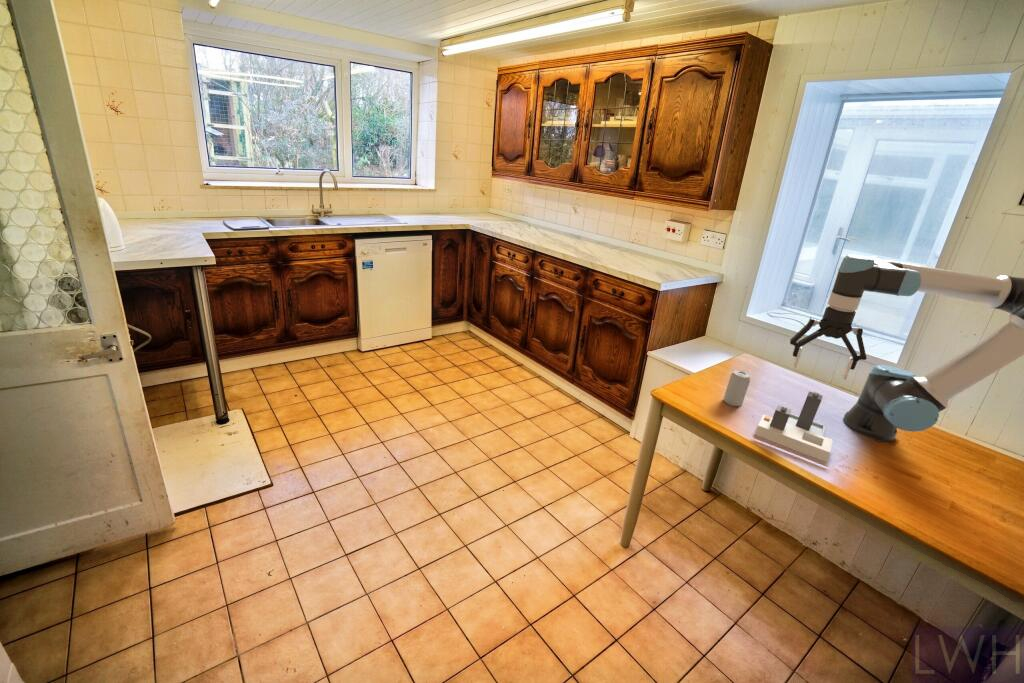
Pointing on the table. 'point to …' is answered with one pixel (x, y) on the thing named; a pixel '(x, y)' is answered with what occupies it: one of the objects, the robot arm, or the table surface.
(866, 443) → the table surface
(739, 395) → the beverage can
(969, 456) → the table surface
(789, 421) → the tray
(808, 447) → the strip
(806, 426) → the plug
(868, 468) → the table surface
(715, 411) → the table surface
